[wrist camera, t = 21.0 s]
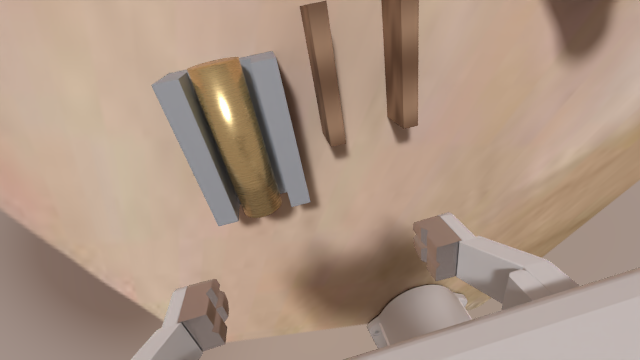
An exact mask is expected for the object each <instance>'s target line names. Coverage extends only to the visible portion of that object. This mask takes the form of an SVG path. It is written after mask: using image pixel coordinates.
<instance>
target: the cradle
mask: <svg viewBox="0 0 640 360" xmlns="http://www.w3.org/2000/svg"><path fill="white" fill-rule="evenodd" d="M239 61H240V64H241V67H242V70H243V74H244V77H245V80H246V84H247V87H248V90H249V94H250V97H251V100H252V103H253V107H254V110H255V113H256V117H257V120H258V123H259V127H260V130H261V133H262V136H263V140H264V143H265V146H266V150H267V153H268V156H269V159H270V163H271V166H272V169H273V173H274V176H275V179H276V183H277V186H278V189H279V192H280V194H282V193H286V192H287V193H288V196H289V200H290V203H291V207H294V206H298V205H301V204H305V203H309V202H310V198H309V193H308V189H307V185H306V181H305V177H304V173H303V168H302V164H301V160H300V156H299V152H298V147H297V143H296V139H295V135H294V131H293V127H292V122H291V118H290V114H289V110H288V106H287V102H286V97H285V93H284V89H283V85H282V81H281V76H280V72H279V68H278V64H277V60H276V57H275V55H274V53H273V51H270V52H266V53H261V54H256V55H252V56H247V57H243V58H239ZM151 86H152V88H153V90H154V92H155V94H156V96H157V98H158V100H159V102H160V104H161V107H162V109H163V111H164V113H165V115H166V117H167V119H168V121H169V123H170V125H171V127H172V130H173V132H174V134H175V136H176V138H177V140H178V142H179V144H180V146H181V148H182V151H183V153H184V155H185V157H186V159H187V161H188V163H189V165H190V167H191V169H192V171H193V174H194V176H195V178H196V180H197V182H198V184H199V186H200V188H201V190H202V192H203V195H204V197H205V199H206V201H207V203H208V205H209V207H210V209H211V211H212V213H213V215H214V218H215V220H216V222H217V224H218V226H222V225H226V224H230V223H233V222H237V221H239V207H240V204H241V203H240V201H239V198H238V196H237V193H236V191H235V188H234V186H233V183H232V181H231V178H230V176H229V173H228V171H227V168H226V166H225V163H224V161H223V158H222V156H221V153H220V151H219V148H218V146H217V143H216V141H215V138H214V136H213V133H212V131H211V128H210V126H209V123H208V121H207V118H206V116H205V113H204V111H203V108H202V106H201V103H200V101H199V98H198V96H197V93H196V91H195V88H194V86H193V83H192V81H191V78H190V76H189V73H188V71H187V70H183V71H178V72H174V73H169V74H167V75H166V76H164V77H163V78H161V79H160V80H158V81H157V82H155V83H154V84H152V85H151Z"/></svg>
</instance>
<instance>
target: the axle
mask: <svg viewBox="0 0 640 360" xmlns="http://www.w3.org/2000/svg"><path fill="white" fill-rule="evenodd" d="M187 71H188V73H189V76H190V78H191V81H192V83H193V86H194V88H195V91H196V93H197V96H198V98H199V101H200V103H201V106H202V108H203V111H204V113H205V116H206V118H207V121H208V123H209V126H210V128H211V131H212V133H213V136H214V138H215V141H216V143H217V146H218V148H219V151H220V153H221V156H222V158H223V161H224V163H225V166H226V168H227V171H228V173H229V176H230V178H231V181H232V183H233V186H234V188H235V191H236V193H237V196H238V198H239V201H240V203H241V206H242V208H243V211H244V213H245V214H246V215H247V216H248V217H252V218H260V217H264V216H267V215H270V214H272V213H273V212H275V211H276V210H277V209H278V208H279V207H280V206H281V203H282V199H281V196H280V192H279V189H278V186H277V183H276V179H275V176H274V173H273V169H272V166H271V163H270V159H269V156H268V153H267V150H266V146H265V143H264V140H263V136H262V133H261V130H260V127H259V123H258V120H257V117H256V113H255V110H254V107H253V103H252V100H251V97H250V94H249V90H248V87H247V84H246V80H245V77H244V74H243V70H242V67H241V64H240V61H239V57H230V58H224V59H218V60H214V61H210V62H206V63H202V64H199V65H195V66H193V67H190V68H188V69H187Z"/></svg>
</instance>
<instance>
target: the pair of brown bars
mask: <svg viewBox="0 0 640 360" xmlns="http://www.w3.org/2000/svg"><path fill="white" fill-rule="evenodd" d="M300 10H301V15H302V21H303V26H304V32H305V37H306V43H307V48H308V54H309V59H310V65H311V70H312V76H313V81H314V87H315V92H316V98H317V103H318V109H319V114H320V120H321V125H322V131H323V134H324V136H325V137H326V139H327V141H328V142H329V144H330V146H331V147H334V146H338V145H342V144H346V140H345V132H344V125H343V118H342V111H341V104H340V96H339V89H338V82H337V75H336V67H335V60H334V53H333V46H332V39H331V31H330V24H329V17H328V10H327V3H326V1H323V2H318V3H313V4H308V5H304V6H300ZM418 16H419V0H382V17H383V37H384V56H385V75H386V95H387V114H388V118H390V119H391V120H392V121H394V122H395V123H396V124H398V125H399V126H400V127H402V128H403V129H406V128H410V127H414V126H418Z"/></svg>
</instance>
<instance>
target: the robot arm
mask: <svg viewBox="0 0 640 360" xmlns="http://www.w3.org/2000/svg"><path fill="white" fill-rule="evenodd" d="M413 230H414V232H415V233H416V235H415V237H414V238H413V239H414V247H415V250H416V252H417V254H418V256H419V258H420V259H421V260H422V261H424V262H426V263H427V269H428V271H429V272H430V274H431V275H432V277H433V278H434V279H435V281H439V280H442V279H446V278H450V277H454V276H456V277H458V278H459V279H461V280H463V281H464V282H466V283H468V284H470V285H471V286H473V287H475V288H476V289H478V290H480V291H481V292H483V293H485V294H487V295H488V296H490V297H492V298H493V299H495V300H497V301H499V302H500V303H502V304H503V305H502V310H501V311H498V312H495V313H492V314H488V315H485V316H482V317H479V318H476V319H471V317H470V315H469V314H468V312H467V310H466V309H465V306H466V304H467V299H466V297H465V296H464V295H463V294H459V293H454V292H452V291H451V290H449V289H448V288H446V287H444V286H441V285H425V286H420V287H416V288H413V289H411V290H408V291H406V292H404V293H402V294H401V295H399V296H397V297H396V298H395V299H393V300H392V301H391V302H390V303H389V304H388V305H387V306H386V307H385V308H384V310H383V311H382V312H381V314H380V315H379V316H378V317H376V318H375V319H373V320H372V321H371V322H370V323H369V324H368V325H367V328H368V330H369V332H370V334H371V336H372V338H373V340H374V341H375V344H376V345H377V347H378V349H376V350H373V351H370V352H367V353H364V354H360V355H357V356H354V357H351V358H347V359H344V360H640V268H636V269H633V270H630V271H627V272H624V273H620V274H617V275H614V276H611V277H607V278H604V279H601V280H598V281H595V282H591V283H588V284H585V285H582V286H579V285H578V284H577V283H575V282H574V281H573V280H572V279H571V278H570V277H568V276H567V275H566V274H565V273H563V272H562V271H561V270H560V269H558V268H557V267H556V266H555V265H554V264H552V263H551V262H550V261H549V260H546V259H544V258H541V257H538V256H535V255H532V254H529V253H527V252H524V251H521V250H518V249H515V248H512V247H509V246H507V245H504V244H501V243H498V242H495V241H492V240H490V239H487V238H484V237H481V236H478V237H476V236H475V235H474V234H472V233H471V232H470V231H469V230H468V229H467V228H466V227H465V226H464V225H463V224H462V223H461V222H460V221H459V220H458V219H457V218H456V217H455V216H454V215H453V214H452V213H450V212H448V213H444V214H441V215H438V216H434V217H431V218H428V219H424V220H421V221H417V222H414V224H413ZM219 288H220V284H219V283H218V281H217V279H212V280H208V281H204V282H200V283H196V284H193V285H189V286H186V287H182V288H178V289H176V290H175V291H174V292H173V294H172V297H171V300H170V303H169V307H168V310H167V313H166V316H165V319H164V322H163V326H162V328H160V329H157V331H156V332H155V333H154V334H153V335H152V336H151V337H150V338H149V340H148V341H147V342H146V343H145V344H144V345H143V346H142V347H141V349H140V350H139V351H138V352H137V353H136V354H135V355H134V357H133V358H132V359H131V360H199V359H200V357H201V355H202V354H203V351H205V350H209V349H212V348H215V347H218V346H221V345H224V344H225V343H226V334H227V326H226V324H225V323H224V322H225V321H226V319H227V318H228V314H229V306H228V300H227V297H226V295H225V293H224V292H222V291H220V290H219Z"/></svg>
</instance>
